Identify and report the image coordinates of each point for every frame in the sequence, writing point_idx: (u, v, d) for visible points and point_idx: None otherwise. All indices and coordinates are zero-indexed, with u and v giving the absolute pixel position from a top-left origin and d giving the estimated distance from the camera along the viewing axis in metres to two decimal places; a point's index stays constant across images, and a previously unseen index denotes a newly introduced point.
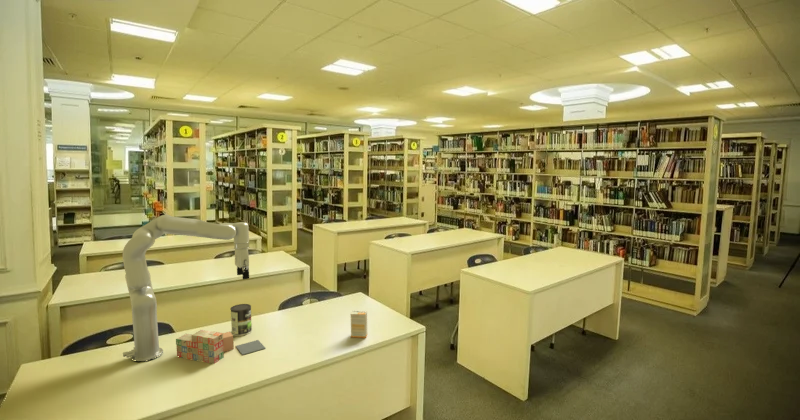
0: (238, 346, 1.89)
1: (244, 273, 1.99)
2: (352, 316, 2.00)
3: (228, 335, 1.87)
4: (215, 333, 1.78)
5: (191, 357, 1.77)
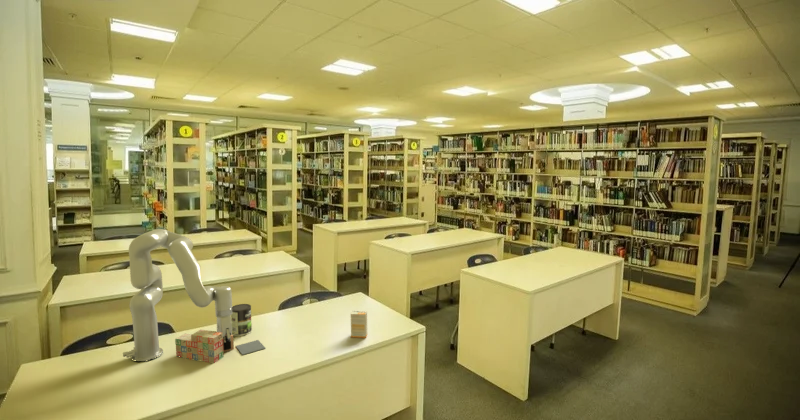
0: (238, 346, 1.89)
1: (225, 344, 1.84)
2: (352, 316, 2.00)
3: None
4: (215, 333, 1.78)
5: (190, 357, 1.77)
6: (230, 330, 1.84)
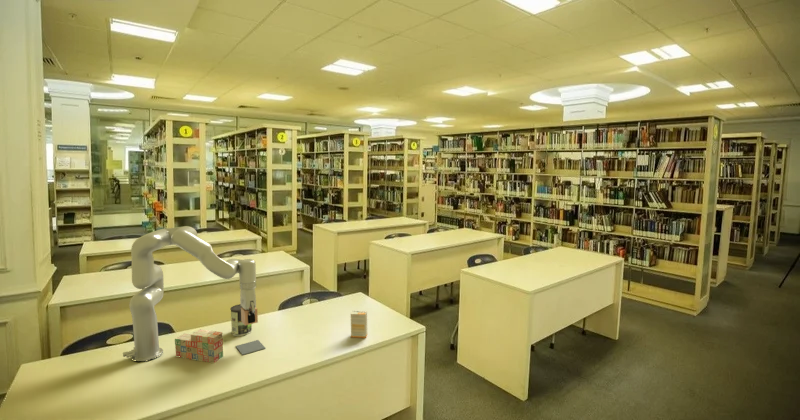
0: (238, 346, 1.89)
1: (250, 316, 1.84)
2: (352, 316, 2.00)
3: None
4: (214, 332, 1.78)
5: (190, 357, 1.78)
6: (254, 303, 1.83)
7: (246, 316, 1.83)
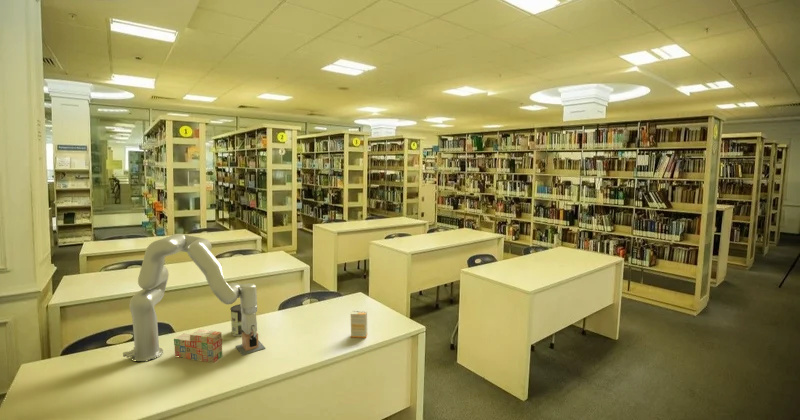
0: (238, 346, 1.89)
1: (251, 340, 1.84)
2: (352, 316, 2.00)
3: None
4: (214, 332, 1.78)
5: (189, 357, 1.77)
6: (255, 327, 1.85)
7: (247, 341, 1.85)
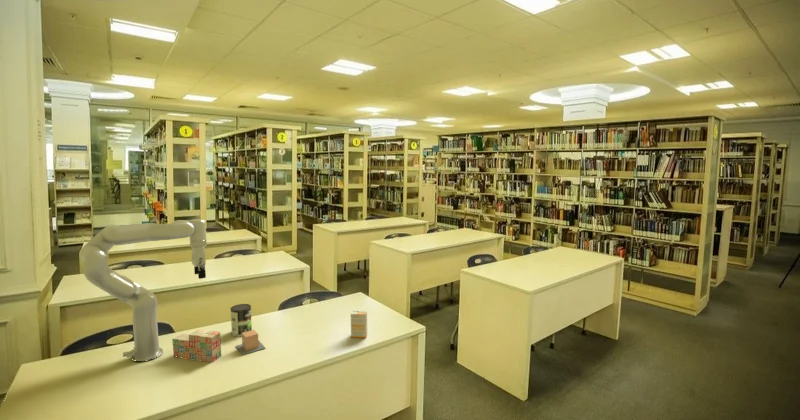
0: (238, 346, 1.89)
1: (200, 272, 1.91)
2: (352, 316, 2.00)
3: (253, 333, 1.88)
4: (212, 332, 1.79)
5: (188, 357, 1.77)
6: (204, 260, 1.92)
7: (247, 341, 1.85)
